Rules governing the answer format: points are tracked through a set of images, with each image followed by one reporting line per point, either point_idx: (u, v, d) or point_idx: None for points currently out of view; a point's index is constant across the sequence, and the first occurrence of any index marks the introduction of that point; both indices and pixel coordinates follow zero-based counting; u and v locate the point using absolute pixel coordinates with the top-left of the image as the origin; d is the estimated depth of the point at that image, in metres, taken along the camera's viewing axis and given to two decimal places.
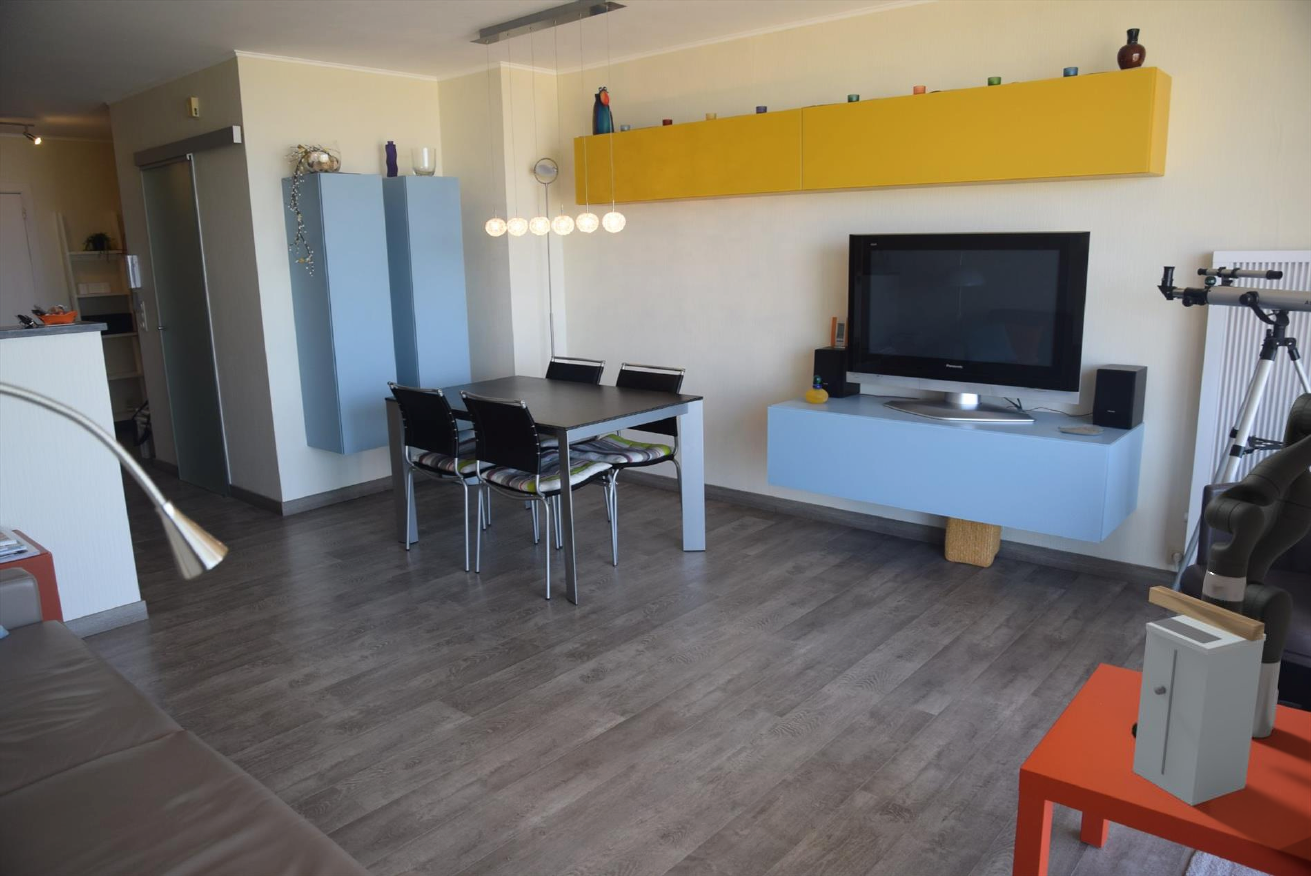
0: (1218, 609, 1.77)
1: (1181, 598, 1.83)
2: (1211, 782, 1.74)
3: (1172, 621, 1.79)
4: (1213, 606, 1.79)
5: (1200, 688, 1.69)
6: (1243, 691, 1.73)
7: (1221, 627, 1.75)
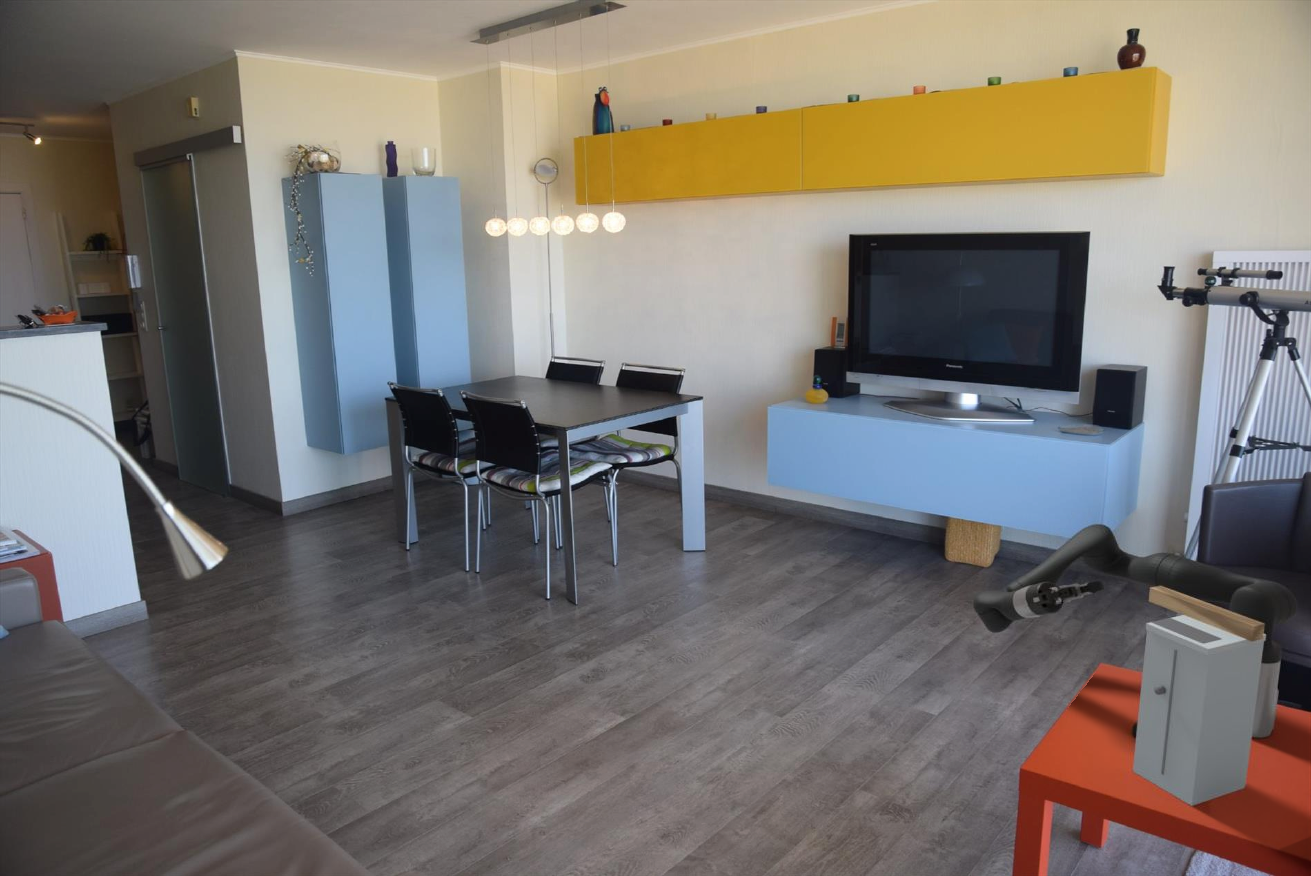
0: (1218, 609, 1.77)
1: (1181, 598, 1.83)
2: (1211, 782, 1.74)
3: (1172, 621, 1.79)
4: (1213, 606, 1.79)
5: (1200, 688, 1.69)
6: (1243, 691, 1.73)
7: (1221, 627, 1.75)
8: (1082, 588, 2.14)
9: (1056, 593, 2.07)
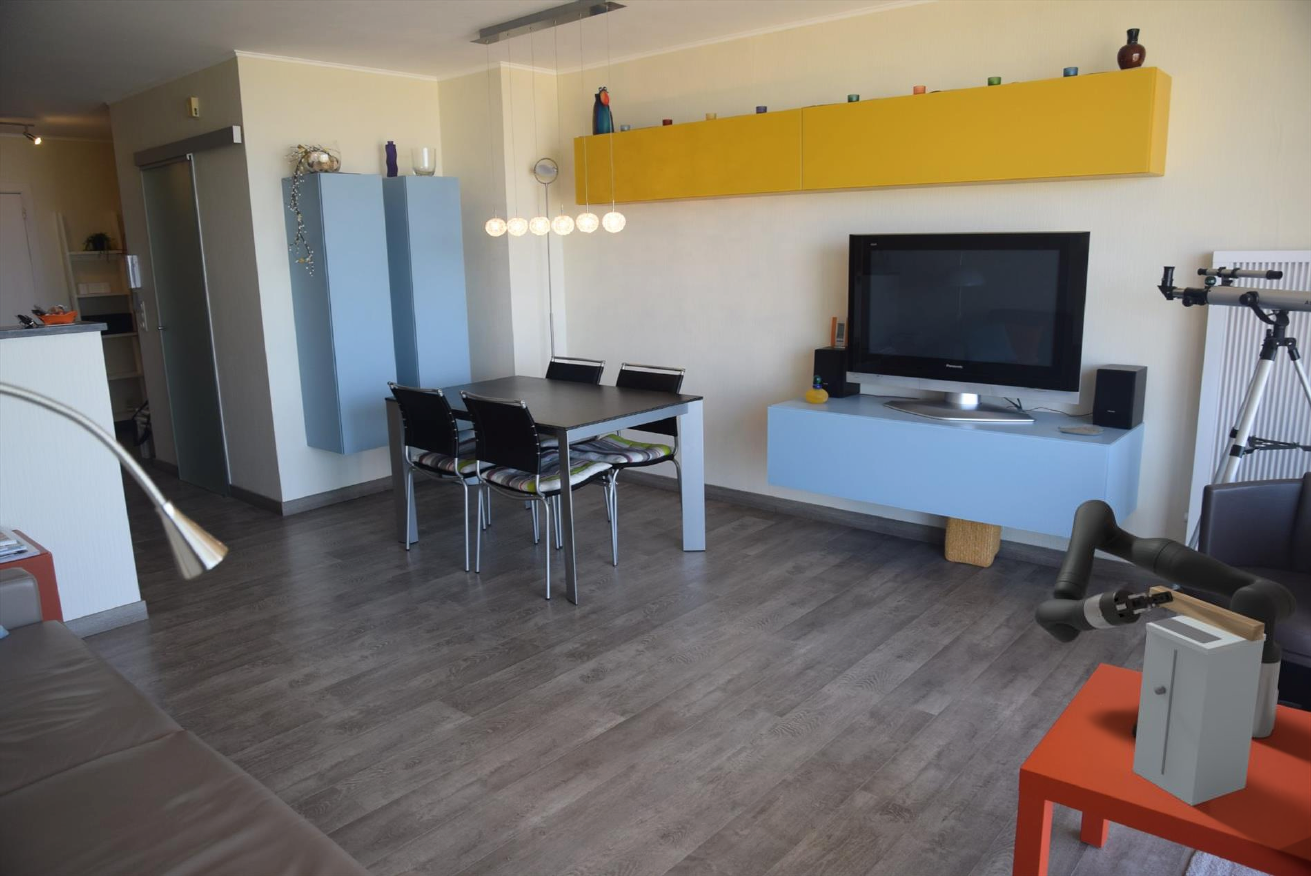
0: (1218, 609, 1.77)
1: (1181, 598, 1.83)
2: (1211, 782, 1.74)
3: (1172, 621, 1.79)
4: (1213, 606, 1.79)
5: (1200, 688, 1.69)
6: (1243, 691, 1.73)
7: (1221, 627, 1.75)
8: None
9: (1152, 598, 1.87)
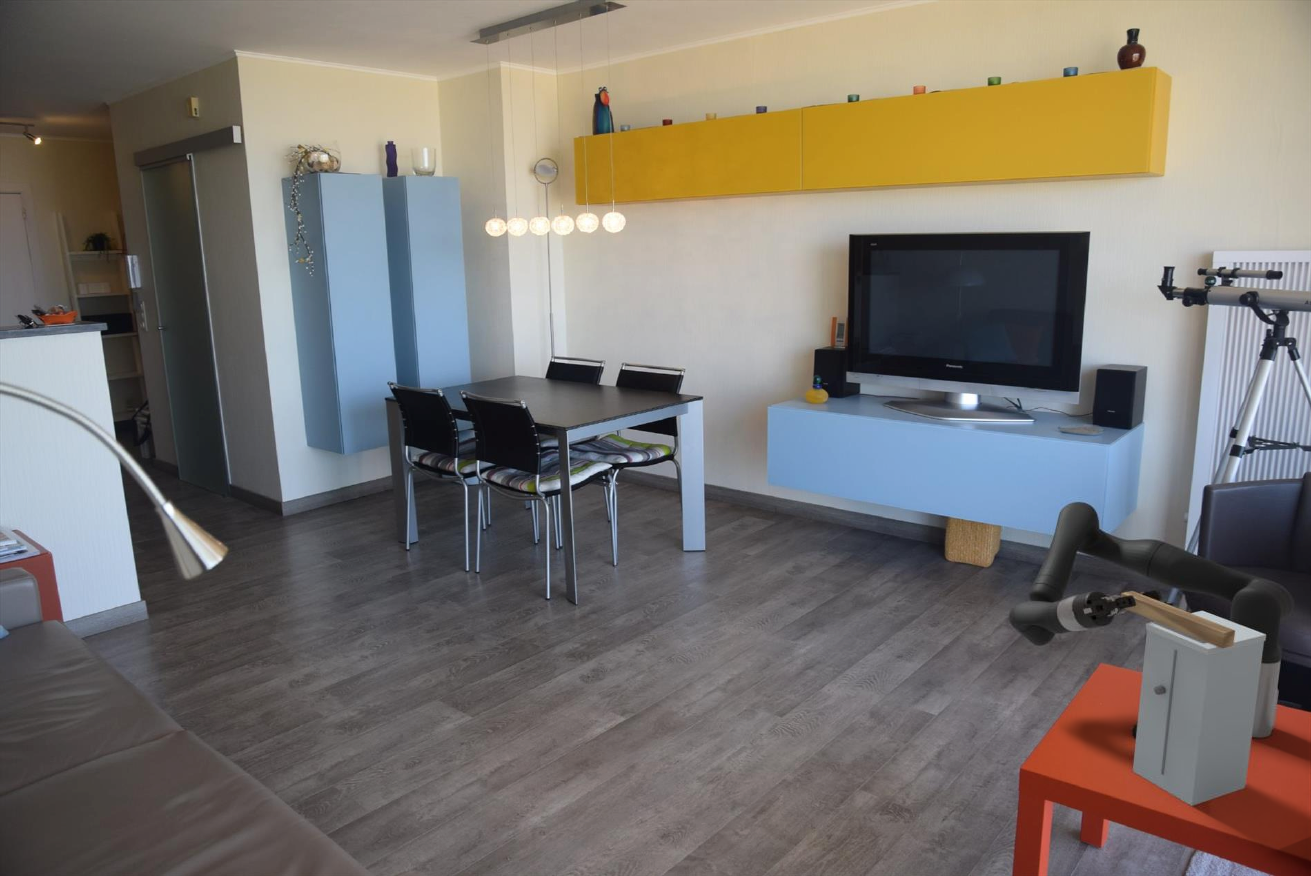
0: (1189, 615, 1.74)
1: (1152, 604, 1.80)
2: (1211, 782, 1.74)
3: None
4: (1184, 612, 1.76)
5: (1200, 688, 1.69)
6: (1243, 691, 1.73)
7: (1192, 633, 1.72)
8: None
9: (1113, 603, 1.84)
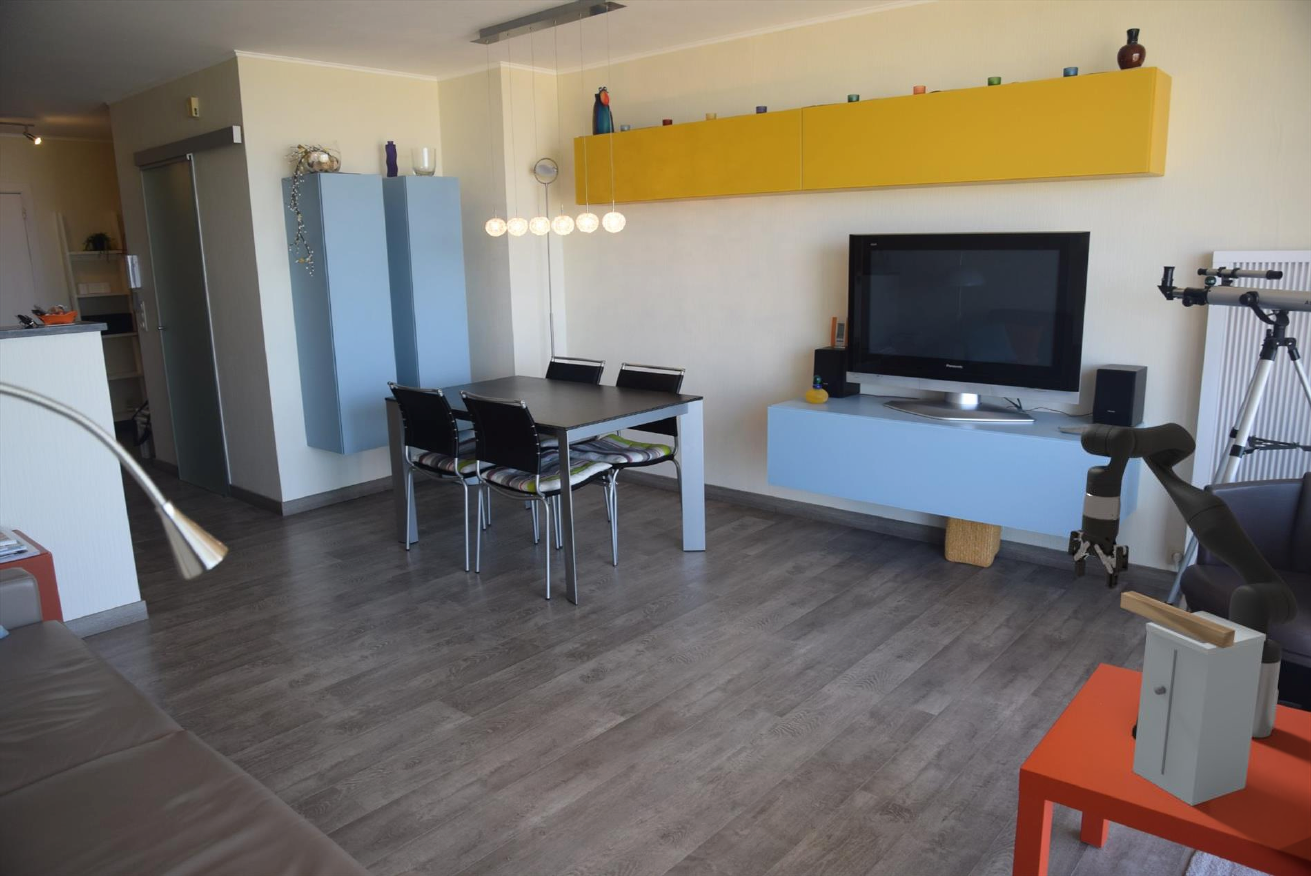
0: (1189, 615, 1.74)
1: (1152, 604, 1.80)
2: (1211, 782, 1.74)
3: None
4: (1184, 612, 1.76)
5: (1200, 688, 1.69)
6: (1243, 691, 1.73)
7: (1192, 633, 1.72)
8: (1078, 544, 2.10)
9: (1118, 573, 2.01)
